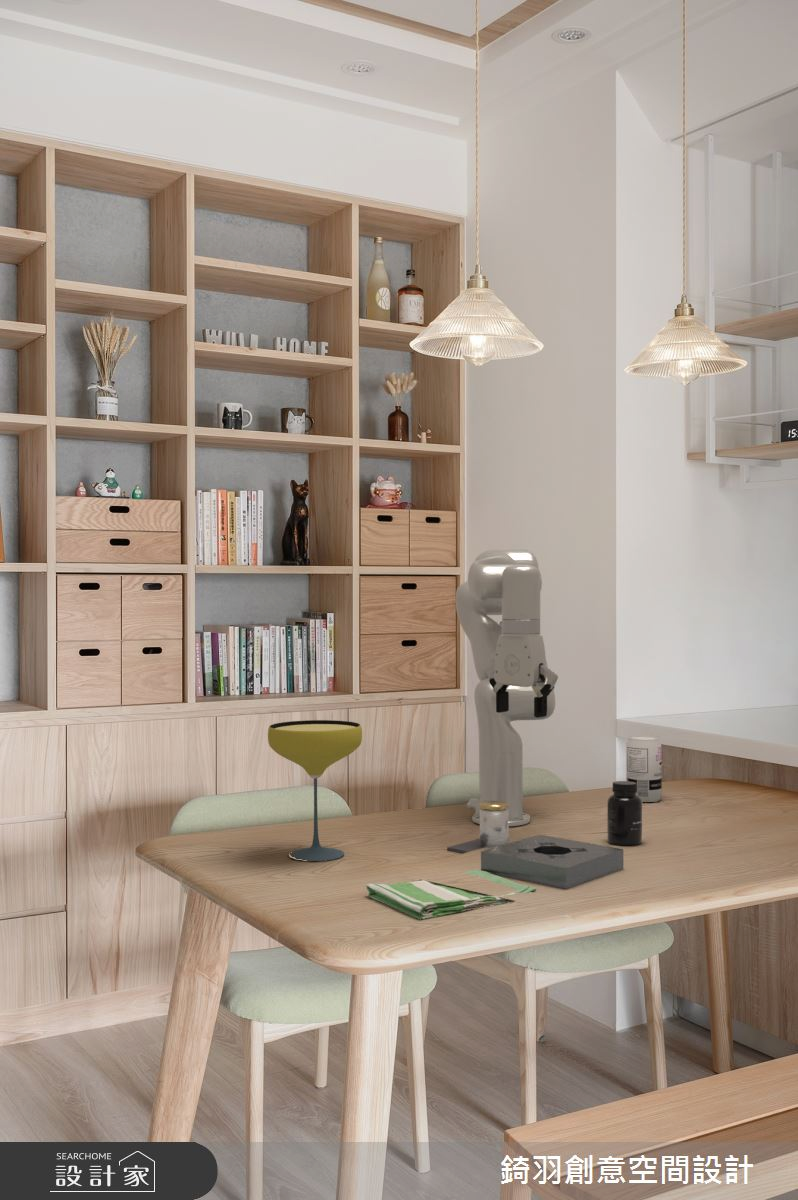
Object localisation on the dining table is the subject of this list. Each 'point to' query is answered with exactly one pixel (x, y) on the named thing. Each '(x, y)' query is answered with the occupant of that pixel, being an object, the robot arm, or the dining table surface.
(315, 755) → the cocktail glass
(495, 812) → the can with gold end
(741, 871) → the dining table surface
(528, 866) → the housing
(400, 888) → the dish towel
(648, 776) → the supplement can
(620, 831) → the supplement bottle
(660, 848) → the dining table surface
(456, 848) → the mat
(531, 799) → the dining table surface
